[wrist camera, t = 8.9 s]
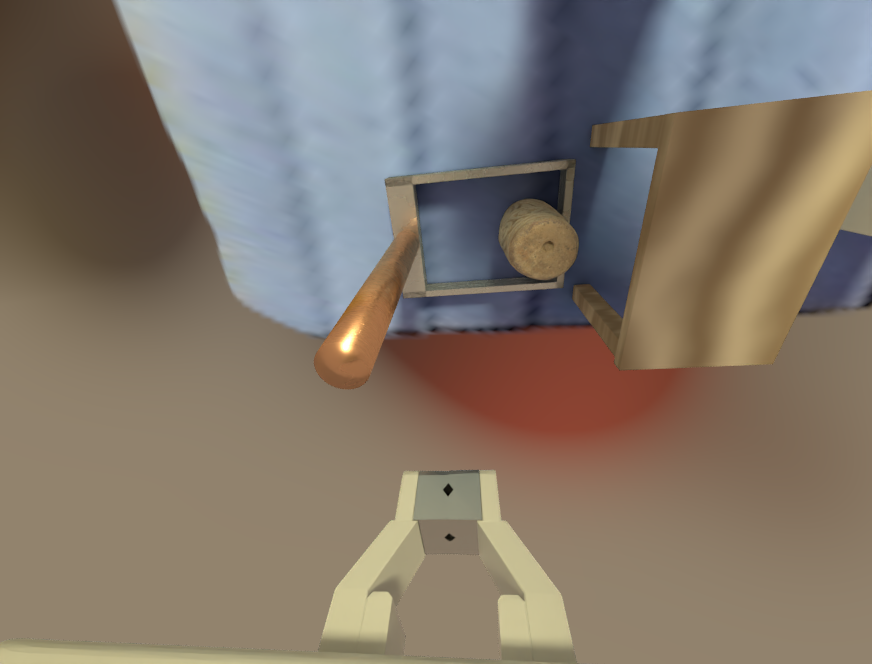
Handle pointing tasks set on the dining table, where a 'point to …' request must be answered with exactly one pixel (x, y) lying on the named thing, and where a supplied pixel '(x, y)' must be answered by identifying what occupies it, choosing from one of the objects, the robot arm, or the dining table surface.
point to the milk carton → (861, 210)
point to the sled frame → (415, 274)
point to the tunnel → (732, 227)
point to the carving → (537, 239)
